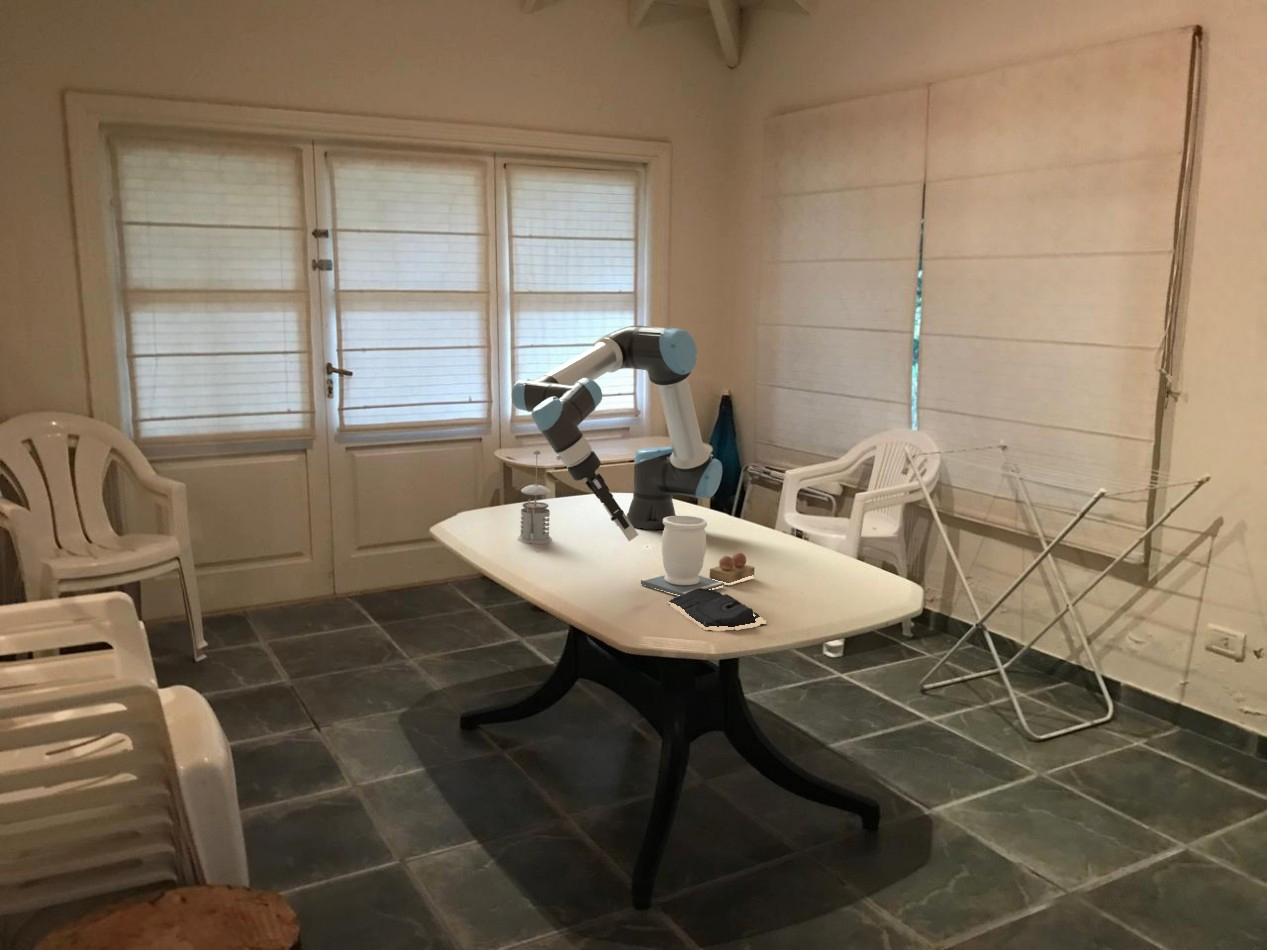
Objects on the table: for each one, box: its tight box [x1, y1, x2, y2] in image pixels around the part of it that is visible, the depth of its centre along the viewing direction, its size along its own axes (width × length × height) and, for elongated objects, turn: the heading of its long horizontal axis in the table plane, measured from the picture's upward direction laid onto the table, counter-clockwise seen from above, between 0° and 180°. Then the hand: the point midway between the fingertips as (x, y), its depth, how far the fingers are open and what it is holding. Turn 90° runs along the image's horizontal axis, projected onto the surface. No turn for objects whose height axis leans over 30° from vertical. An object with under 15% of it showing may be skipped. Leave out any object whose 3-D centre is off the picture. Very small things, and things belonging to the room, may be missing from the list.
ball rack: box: [709, 552, 755, 583], centre depth 250 cm, size 10×6×6 cm, turn 136°
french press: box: [517, 449, 553, 545], centre depth 277 cm, size 10×12×25 cm
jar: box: [661, 515, 708, 586], centre depth 242 cm, size 11×10×15 cm
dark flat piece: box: [668, 588, 761, 627], centre depth 224 cm, size 15×22×5 cm
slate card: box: [640, 572, 725, 596], centre depth 243 cm, size 14×14×1 cm
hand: (627, 530), depth 242 cm, fingers open, 13 cm apart
